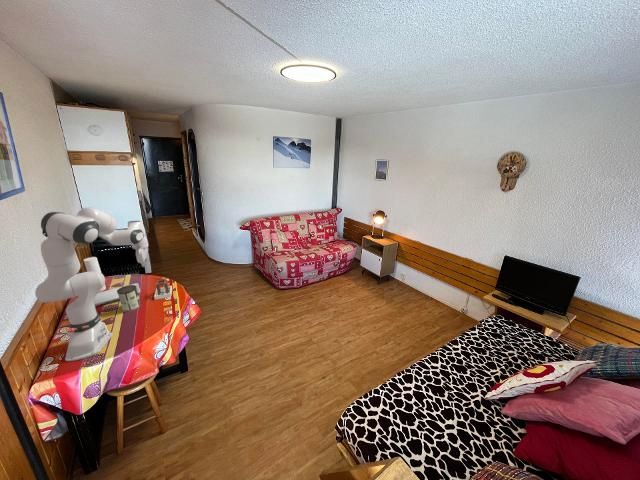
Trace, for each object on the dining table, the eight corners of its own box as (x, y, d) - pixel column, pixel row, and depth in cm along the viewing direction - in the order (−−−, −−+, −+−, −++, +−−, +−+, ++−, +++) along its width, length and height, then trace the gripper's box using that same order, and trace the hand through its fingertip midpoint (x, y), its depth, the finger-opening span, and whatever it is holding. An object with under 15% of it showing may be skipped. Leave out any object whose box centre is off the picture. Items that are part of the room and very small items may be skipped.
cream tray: (171, 297, 184) (170, 293, 182) (155, 300, 179) (154, 296, 178) (172, 289, 194) (171, 285, 193) (156, 292, 190) (156, 288, 189)
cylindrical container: (99, 292, 189) (89, 261, 181) (91, 291, 191) (81, 260, 183) (108, 287, 196) (99, 257, 188) (100, 286, 197) (91, 256, 189)
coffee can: (130, 302, 177) (125, 284, 172) (144, 303, 176) (140, 285, 171) (118, 311, 167) (112, 292, 163) (133, 312, 166) (127, 293, 162)
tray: (141, 295, 186) (140, 291, 185) (83, 311, 167) (82, 307, 166) (138, 286, 198) (137, 282, 197) (85, 300, 180) (83, 296, 179)
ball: (166, 294, 186) (165, 290, 185) (161, 295, 184) (160, 291, 184) (166, 292, 188) (165, 288, 187) (161, 293, 187) (160, 289, 186)
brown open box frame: (168, 295, 185) (165, 282, 182) (158, 297, 183) (155, 284, 179) (168, 291, 190) (166, 279, 187) (159, 293, 188) (156, 280, 184)
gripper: (143, 249, 162) (148, 268, 167) (147, 239, 180) (152, 257, 184) (131, 250, 160) (136, 270, 164) (137, 240, 177) (141, 258, 182)
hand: (144, 263), depth 175 cm, fingers open, 8 cm apart
